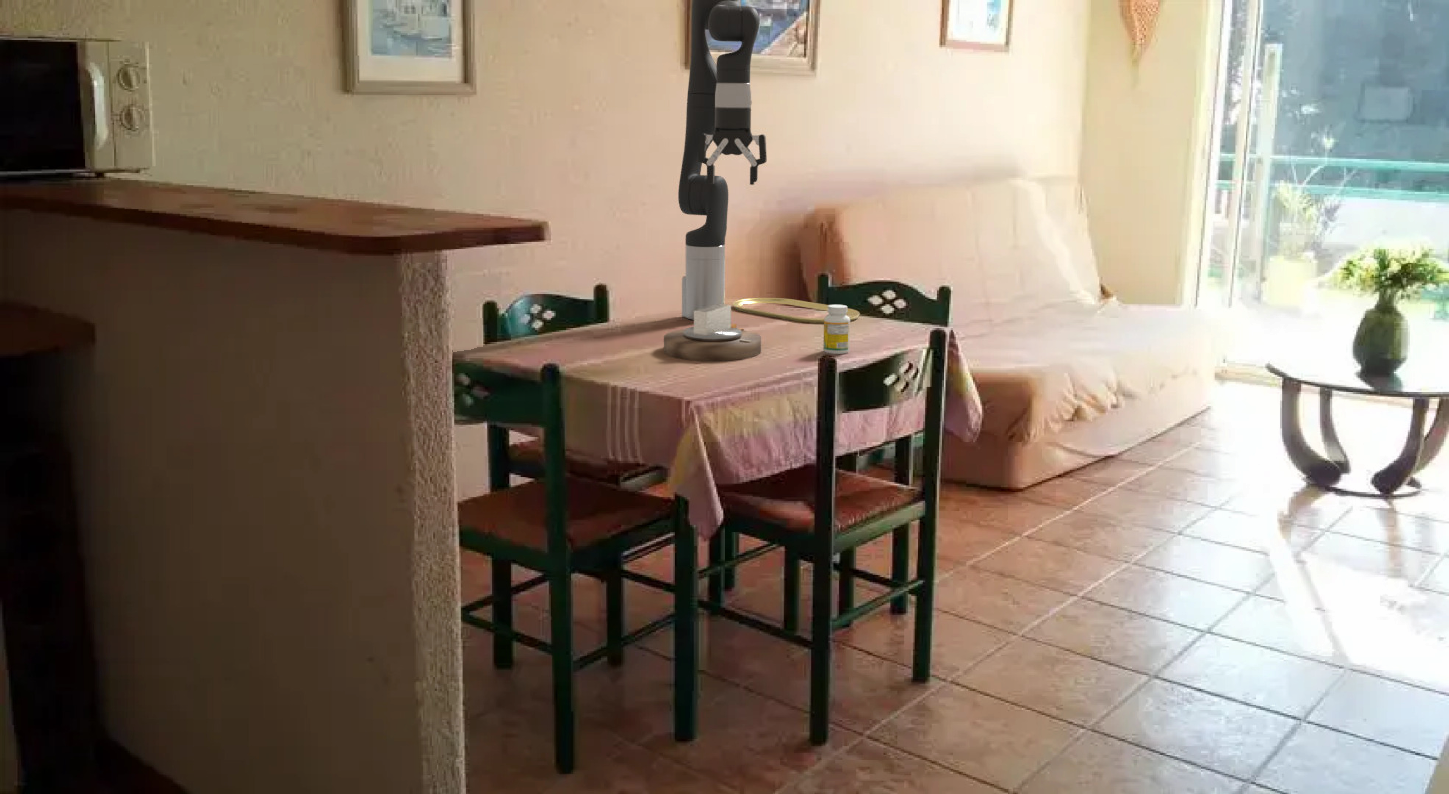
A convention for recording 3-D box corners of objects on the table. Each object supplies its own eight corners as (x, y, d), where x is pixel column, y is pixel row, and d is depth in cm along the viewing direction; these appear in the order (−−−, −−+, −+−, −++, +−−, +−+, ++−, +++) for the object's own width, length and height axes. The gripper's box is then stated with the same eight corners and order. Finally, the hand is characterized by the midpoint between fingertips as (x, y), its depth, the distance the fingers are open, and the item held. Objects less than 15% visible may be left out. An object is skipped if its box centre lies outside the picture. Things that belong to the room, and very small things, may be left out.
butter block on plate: (723, 343, 257) (723, 314, 256) (672, 337, 263) (672, 309, 262) (758, 332, 270) (758, 304, 269) (708, 326, 276) (708, 299, 274)
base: (644, 352, 264) (643, 336, 264) (704, 338, 280) (704, 323, 279) (720, 365, 252) (720, 348, 252) (779, 349, 268) (780, 334, 267)
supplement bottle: (844, 355, 263) (845, 308, 261) (819, 353, 265) (820, 306, 263) (852, 350, 268) (854, 305, 266) (828, 348, 270) (829, 303, 268)
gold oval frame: (769, 301, 332) (769, 295, 331) (875, 319, 307) (875, 312, 307) (716, 309, 319) (717, 303, 318) (823, 328, 295) (823, 321, 294)
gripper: (696, 105, 266) (696, 184, 270) (765, 106, 264) (763, 186, 268) (702, 105, 273) (701, 182, 277) (768, 105, 272) (767, 183, 275)
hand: (732, 184), depth 273 cm, fingers open, 8 cm apart
